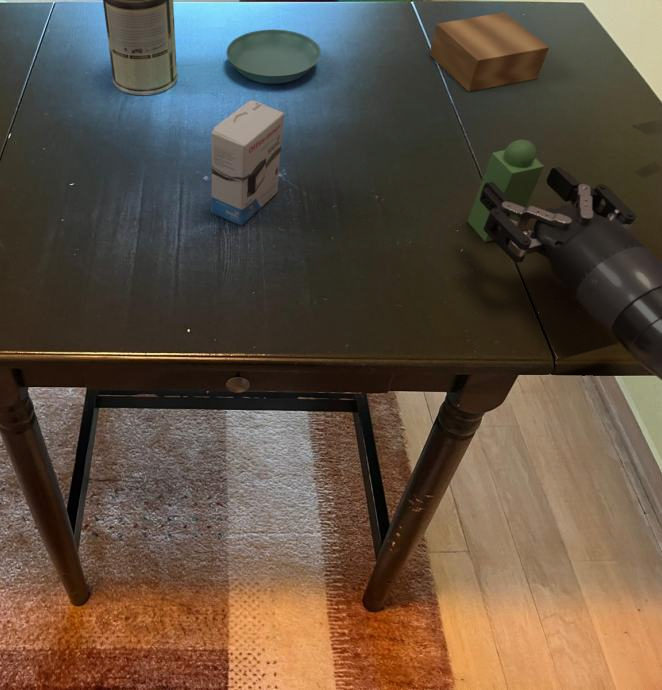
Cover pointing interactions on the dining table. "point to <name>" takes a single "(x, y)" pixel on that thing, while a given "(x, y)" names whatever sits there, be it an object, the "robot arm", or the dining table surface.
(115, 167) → the dining table surface
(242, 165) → the ink box
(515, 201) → the toy tower
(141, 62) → the coffee can
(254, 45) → the saucer
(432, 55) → the wooden block
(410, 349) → the dining table surface
